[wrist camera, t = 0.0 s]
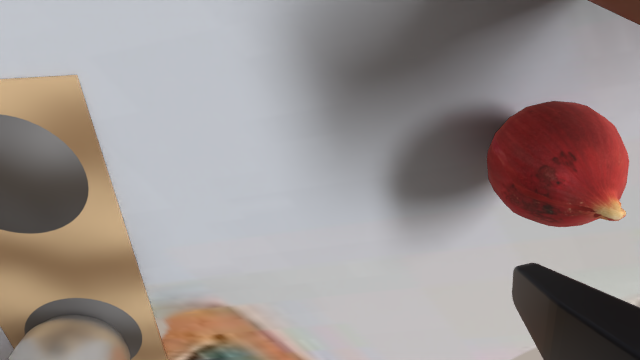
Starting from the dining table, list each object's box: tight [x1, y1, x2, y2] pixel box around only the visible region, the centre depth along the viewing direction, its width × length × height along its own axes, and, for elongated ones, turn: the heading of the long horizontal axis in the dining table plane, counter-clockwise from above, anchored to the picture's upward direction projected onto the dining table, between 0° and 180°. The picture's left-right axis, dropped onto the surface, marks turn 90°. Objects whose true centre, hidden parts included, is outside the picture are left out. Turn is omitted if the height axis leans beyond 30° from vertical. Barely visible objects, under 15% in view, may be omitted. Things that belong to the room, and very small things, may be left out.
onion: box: [487, 101, 629, 227], centre depth 21 cm, size 6×6×8 cm
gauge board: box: [0, 75, 168, 360], centre depth 25 cm, size 21×9×1 cm, turn 1°
